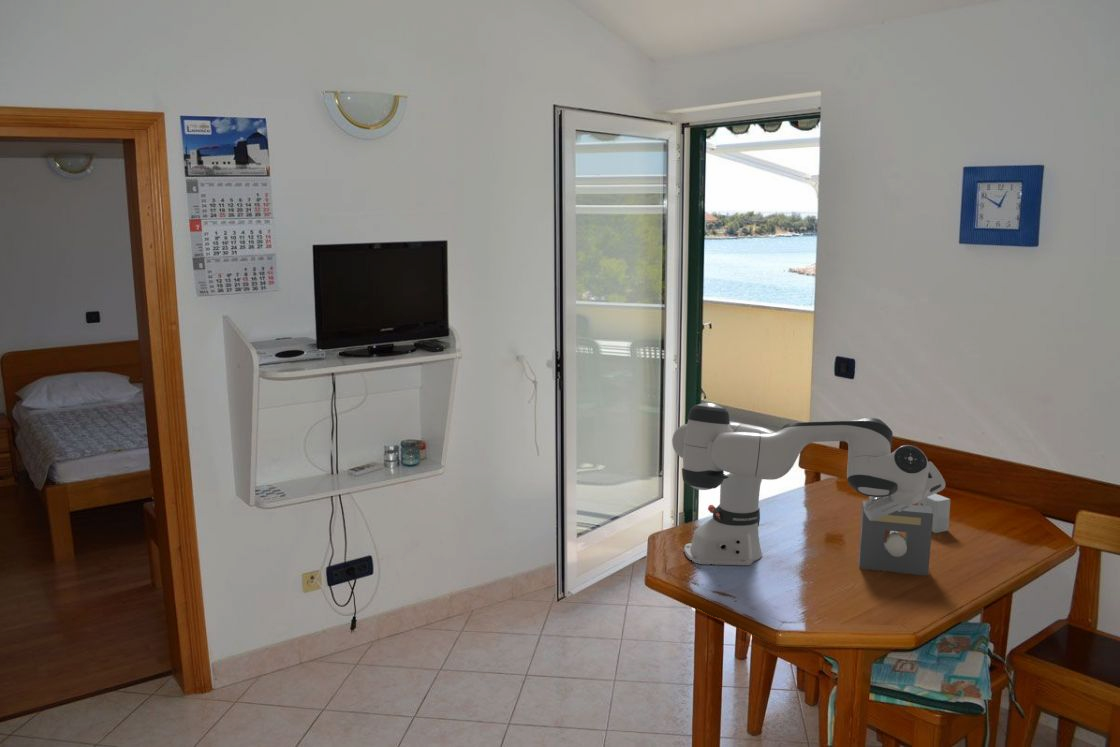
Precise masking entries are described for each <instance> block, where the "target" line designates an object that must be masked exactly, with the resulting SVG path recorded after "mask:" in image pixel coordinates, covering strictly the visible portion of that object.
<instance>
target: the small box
mask: <svg viewBox="0 0 1120 747" xmlns="http://www.w3.org/2000/svg"><path fill="white" fill-rule="evenodd" d="M917 505H920V506H931V508H932V511H933V523H932V533H934V534H938V533H944V532H949V525H950V513H951V512H950V510H951V498H948V497H946V496H943V495H941V494H937V493H935V494H933V495H931V496H928V497H926V498H924V499H922V500H920V501H919V502H918V503H917Z"/></svg>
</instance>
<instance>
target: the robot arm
mask: <svg viewBox="0 0 1120 747" xmlns="http://www.w3.org/2000/svg"><path fill="white" fill-rule="evenodd" d="M686 419H687V423H686V424H682V425H680V426H679V427H678V428H677V429H676V430H675V431H674V433H673V435H672V437H671V438H672V440H671V443H672V448H673V450H674V452H675V453H676V455H678V457H680V458H681V459H682V464H683V465H682V468H681V474H682V475H681V476H682V481H683V482H684V483H685V484H686V485H688V486H690V487H691V488H693V489H696V490H699V491H707V490H713V489H716V488H718V487H719V488H720V491H719V494H720V495H719V504H718V505H717V507H715V506H714V505H713V504H709V505H708V508H707V510H708V511H709V513H711V514H712V518H710V519H709V520H707V521H706V522H705V523H704V524H702V525H701V526H699V527H696V529H695V531H694V532H693V536H692V540H691V542H689V543H685V545H684V547H683V553H684V552H685V553H684V555H685V556H686V558H688V559H689V560H690V561H691V560H692V561H691V562H693V563H695V564H697V563H698V565H710V564H712V566H714V565H715V566H718V565H719V566H720V565H722V566H751V565H752V564H753V563H754V562H755V561H758V560H759V559H761V558H762V557H763V552H762V548H761V543H760V537H759V536H760V534H759V533H760V532H759V526H760V521H761V509H760V508H761V507H759V505H760V504H759V503H760V493H761V490H760V489H761V484H762V481H763V480H768V481H771V480H772V481H773V480H774V481H775V480H778V479H781V478H782V477H784V476H785V475H787V474H788V473H789V472H790V471H791V469H792V468H793V467H794V465H795V464H796V461H797V460H798V458H799V455H800V454H801V452H802V450H803V449H804V448H805V447H806V446H807V445H810V444H811V443H816V442H817V443H821V442H823V443H824V442H845V443H847V446H848V448H847V450H848V451H847V455H848V456H847V464H846V466H847V467H846V476H847V477H846V482H847V484H849V486H850V487H851V488H852V489H853V490H855V491H856V492H857V493H859V494H861V495H863V496H866V497H868V499H867V500H866V501H867V502H866V504H865V506H864V512H865V514H866V516H867V517H868V519H869V520H870V521H875V520H877V519H879V518H881V517H884V516H886V515H888V514H890V513H893V512H895V511H897V510H898V512H901V511H903V510H905V509H907V508H909V507H910V505H917V504H918V502H919V501H920V500H922V499H924V498H926V497H928V496H931V495H933V494H937V493H940V492H941V491H943V490H944V489H945V488H946V480H945V478H943V475H942V474H941V472H940V471H939V469H938V468H937V467H936V465H934V463H933V462H932V461H928V457H927V456H926V455H925V453H924V452H923V451H922V450H921V449H920V448H918V447H917V446H914V445H910V444H906V445H905V444H904V445H900V447H898V448H897V449H895V450H894V451H892V452H891V448H892V443H893V435H894V433H893V430H892V429H891V428H890V427H889V426H888V425H887V423H885V422H884V421H883V420H881V419H879V418H875V417H864V418H862V417H861V418H857V419H856V418H855V419H850V420H829V421H828V420H826V421H825V420H824V421H822V420H821V421H803V422H802V421H800V422H792V423H787V424H785V425H783V426H782V427H781V428H780V429H779V430H777V431H774V430H772V429H769V428H766V427H762V426H759V425H758V426H757V425H753V424H748V423H743V422H738V421H731V420H730V413H729V412H728V410H727V409H726V408H725V407H723V406H720V405H719V404H717V403H714V402H703V403H702V402H701V403H699V404H694V405H693V406H692V407H691V408H690V410H689V412H688V415H687V418H686ZM725 472H726V473H728V474H726V473H725ZM869 496H872V497H871V498H869ZM713 564H714V565H713Z"/></svg>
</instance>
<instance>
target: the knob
mask: <svg viewBox="0 0 1120 747" xmlns="http://www.w3.org/2000/svg"><path fill="white" fill-rule="evenodd" d="M885 543H886V544H887V549H888V552H889V553H890V554H891V555H893V556H895V557H900V556H902V555H904V554H905V553H906V551H907V546H906V541H905V536H904V535H903V534H901V533H899V532H897V531H889V534H888V535H887V537H886V538H885Z"/></svg>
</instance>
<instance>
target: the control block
mask: <svg viewBox="0 0 1120 747" xmlns="http://www.w3.org/2000/svg"><path fill="white" fill-rule="evenodd" d="M866 502H867V500H862V506H861V507H862V508H861V509H862V510H861V523H860V532H859V534H860V535H859V537H860V538H859V550H858V551H859V552H858V566H859V569H861V568H862V569H863V570H870V569H875V570H874V571H880V570H882V571H881V572H889V571H891V572H890V573H898V572H899V574H908V575H909V574H911V575H919V576H926V575H927V576H929V570H930V569H929V568H930V557H931V547H932V533H933V532H932V523H933V511H932V508H931V506H920V505H918V504H913V505H910V507H909V508H907V509H905V510H903V511H901V512H898V510H897V511H895V512H893V513H890V514H888V515H886V516H884V517H881V518H879V519H877V520H875V521H870V520H869V519H868V517H867V516H866V514H865V512H864V506H865V504H866ZM886 531H887V532H890V531H897V532H898V533H899V532H900V533H904V538H905V541H906V546H907V551H906V553H905V554H904V555H902V556H900V557H895V556H893V555H891V554H890V553H889V552H888V549H887V544H886ZM927 576H926V577H927Z"/></svg>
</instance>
